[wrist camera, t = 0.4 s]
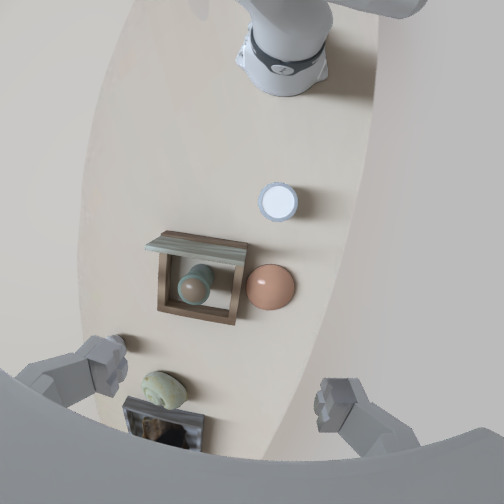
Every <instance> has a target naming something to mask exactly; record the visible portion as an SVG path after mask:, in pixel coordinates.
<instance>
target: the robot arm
mask: <svg viewBox="0 0 504 504" xmlns="http://www.w3.org/2000/svg"><path fill="white" fill-rule="evenodd" d="M236 1H237V2H238V3H240V4H241V5H242V6H243V7H244V8H245V9H246V10H247V11H248V12H249V14H250V16H251V20H252V21H251V22H250V23H249V25H248V31H249V33H248V35H246V36H245V39H244V40H245V41H244V43H243V45H242V47H241V49H240V51H239V53H238V55H237V57H236V64H237V65H238V66H239V67H241V68H242V69H244V70H245V71H246V73H247V74H248V76H249V78H250V79H251V81H252V82H253V83H254V84H255V85H256V86H257V87H258V88H259V89H261V90H262V91H264V92H266V93H269V94H272V95H276V96H293V95H297V94H300V93H302V92H304V91H306V90H307V89H308V88H310V87H311V86H312V85H313V84H314V83H316V82H319V81H322V80H325V79H326V78H327V77H328V67H327V60H326V52H325V39H326V37H327V35H328V33H329V31H330V29H331V27H332V24H333V15H332V11H331V9H330V7H329V5H328V3H327V2H331V3H335V4H338V5H342V6H345V7H349V8H352V9H355V10H358V11H362V12H368V13H372V14H377V15H382V16H387V17H391V18H396V19H403V18H407V17H409V16H412V15H413V14H415V13H417V12H418V11H419V10H420V9H421V8H422V7H423V6H424V5H425V4H426V2H427V0H236ZM326 1H327V2H326ZM242 55H243V57H242ZM125 354H126V347H125V346H124V345H123V344H120V343H117V342H114V341H111V340H108V339H105V338H102V337H99V336H96V335H93V336H91V337H90V338H89V339H88V340H87V341H86V342H85V343H84V344H83V345H82V346H81V347H80V348H79V349H78V350H77V352H75V354H74V353H68V354H65V355H61V356H58V357H54V358H50V359H47V360H43V361H39V362H35V363H32V364H28V365H27V366H26V367H25V368H24V369H23V370H22V371H21V372H20V373H19V374H18V375H17V376H16V377H15V378H13V377H12V376H10V375H9V374H8V373H6V372H5V371H3V370H2V369H0V504H504V437H502V436H500V435H499V434H497V433H495V432H493V431H491V430H489V429H486V428H477V429H474V430H472V431H469V432H466V433H464V434H461V435H458V436H455V437H452V438H449V439H446V440H443V441H440V442H436V443H432V444H429V445H425V446H420V444H419V442H418V440H417V438H416V436H415V434H414V432H413V430H412V428H410V427H409V426H407V425H406V424H404V423H403V422H401V421H400V420H398V419H396V418H395V417H394V416H392V415H391V414H389V413H387V412H386V411H385V410H383V409H382V408H380V407H379V406H377V405H376V404H374V403H370V402H369V400H368V397H367V395H366V393H365V391H364V389H363V387H362V384H361V382H360V380H359V379H358V378H324V379H323V380H322V382H321V384H320V386H321V390H320V391H318V392H317V394H316V397H315V401H314V411H315V414H316V415H318V416H319V417H318V419H317V425H318V430H319V432H338V434H339V435H340V436H341V437H342V438H343V439H344V440H345V441H346V442H347V443H348V444H349V445H350V446H351V447H352V448H353V449H354V450H355V451H356V452H357V453H358V454H359V455H360V456H361V457H362V458H354V459H343V460H329V461H268V460H254V459H244V458H235V457H227V456H220V455H213V454H208V453H202V452H197V451H192V450H187V449H182V448H178V447H174V446H170V445H166V444H162V443H158V442H154V441H151V440H147V439H144V438H141V437H138V436H134V435H131V434H128V433H125V432H123V431H120V430H117V429H114V428H112V427H109V426H106V425H104V424H101V423H99V422H96V421H94V420H92V419H89V418H87V417H85V416H82V415H80V414H78V413H76V412H73V411H72V410H70V409H67V407H69V406H71V405H73V404H75V403H77V402H79V401H81V400H83V399H84V398H87V397H88V396H90V395H92V394H94V393H95V392H97V393H100V394H103V395H106V396H109V397H112V398H113V397H114V395H115V394H116V392H117V391H118V389H119V384H118V383H120V382H123V381H124V379H125V377H126V374H127V371H128V362H127V360H126V359H125V357H124V356H125Z"/></svg>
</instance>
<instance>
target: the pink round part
mask: <svg viewBox="0 0 504 504" xmlns="http://www.w3.org/2000/svg"><path fill="white" fill-rule="evenodd" d="M246 293H247V296H248V298H249V300H250V301H251V302H252V304H254V305H255V306H256V307H258V308H260V309H263V310H276V309H279V308H281V307H283V306H285V305H286V304H287V303H288V302H289V301H290V300H291V298H292V296H293V293H294V282H293V279H292V276H291V275H290V273H289V272H288V271H287V270H286V269H284V268H283V267H281V266H279V265H275V264H266V265H262V266H260V267H258V268H256V269H255V270H254V271H253V272H252V273H251V274H250V275H249V277H248V279H247V283H246Z"/></svg>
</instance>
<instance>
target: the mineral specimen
mask: <svg viewBox="0 0 504 504" xmlns="http://www.w3.org/2000/svg"><path fill="white" fill-rule="evenodd" d="M142 425H143V430H144V432H143V436H142V438H144V439H147V440H151V441H154V442H158V443H162V444H166V445H170V446H174V447H178V448H182V449H187V450H189V447H188V443H187V441H186V439H185V434H186V433H187V431H186V430H185V429H184V428H183V426H182V425H180V424H175V423H171V422H167V421H163V420H160V419H156V418H152V417H149V416H145V417H144V420H143V423H142Z"/></svg>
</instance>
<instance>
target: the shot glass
mask: <svg viewBox="0 0 504 504" xmlns="http://www.w3.org/2000/svg"><path fill="white" fill-rule="evenodd" d="M258 206H259V209H260V211H261V213H262V214H263V215H264V216H265V217H266V218H267V219H269V220H271V221H274V222H282V221H285V220H288V219H289V218H290V217H292V216H293V215H294V213H295V211H296V209H297V207H298V198H297V195H296V192H295V191H294V190H293V189H292V187H291V186H289V185H287V184H285V183H280V182H274V183H271V184H269V185H267V186H266V187H265V188H264V189H262V191H261V193H260V195H259V198H258Z"/></svg>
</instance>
